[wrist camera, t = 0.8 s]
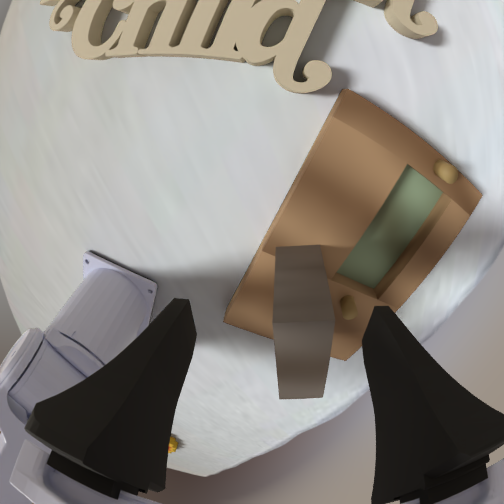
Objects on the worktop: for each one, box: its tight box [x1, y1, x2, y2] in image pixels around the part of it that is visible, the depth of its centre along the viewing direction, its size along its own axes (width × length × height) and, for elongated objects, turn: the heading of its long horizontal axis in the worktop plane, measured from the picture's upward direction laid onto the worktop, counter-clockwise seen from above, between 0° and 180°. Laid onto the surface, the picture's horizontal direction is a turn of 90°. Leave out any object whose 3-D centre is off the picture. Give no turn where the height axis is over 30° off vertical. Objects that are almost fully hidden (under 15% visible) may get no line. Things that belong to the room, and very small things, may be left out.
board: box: [223, 89, 483, 361], centre depth 19 cm, size 20×13×3 cm, turn 157°
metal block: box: [272, 245, 335, 399], centre depth 17 cm, size 8×3×7 cm, turn 7°
